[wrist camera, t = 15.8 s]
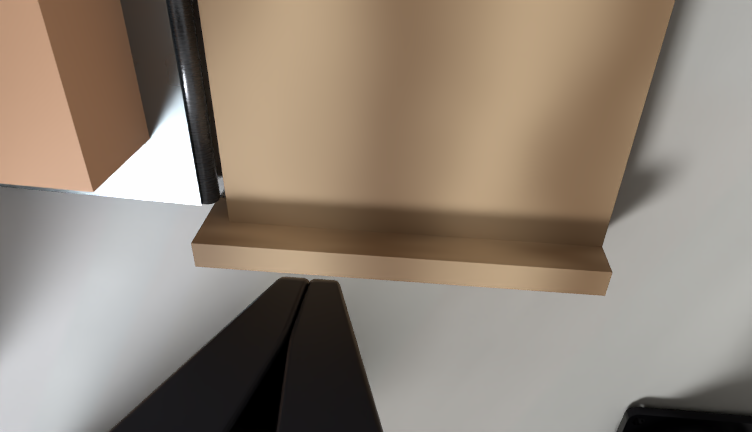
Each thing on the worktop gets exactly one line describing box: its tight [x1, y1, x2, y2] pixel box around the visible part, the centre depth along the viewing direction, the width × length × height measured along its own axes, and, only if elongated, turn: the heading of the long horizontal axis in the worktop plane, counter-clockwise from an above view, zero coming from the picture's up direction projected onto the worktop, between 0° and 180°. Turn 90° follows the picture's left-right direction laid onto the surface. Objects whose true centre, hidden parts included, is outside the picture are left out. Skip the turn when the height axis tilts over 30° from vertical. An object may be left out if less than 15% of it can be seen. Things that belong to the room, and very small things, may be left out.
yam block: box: [0, 0, 150, 192], centre depth 17 cm, size 6×6×4 cm
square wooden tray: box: [191, 0, 675, 296], centre depth 17 cm, size 14×14×3 cm
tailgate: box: [0, 0, 220, 205], centre depth 18 cm, size 10×11×1 cm
